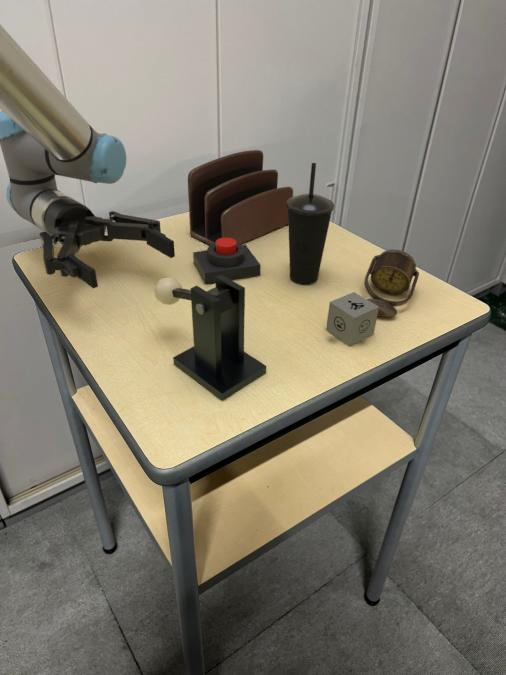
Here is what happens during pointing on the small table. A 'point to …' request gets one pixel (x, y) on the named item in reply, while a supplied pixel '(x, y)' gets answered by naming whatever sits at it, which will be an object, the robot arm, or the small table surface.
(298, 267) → the drinking cup
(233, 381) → the bracket
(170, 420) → the small table surface
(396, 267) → the brown antique clock
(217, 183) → the letter holder
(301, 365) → the small table surface
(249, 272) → the button box
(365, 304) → the dice cube
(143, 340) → the small table surface
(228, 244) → the red button
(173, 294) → the lever
